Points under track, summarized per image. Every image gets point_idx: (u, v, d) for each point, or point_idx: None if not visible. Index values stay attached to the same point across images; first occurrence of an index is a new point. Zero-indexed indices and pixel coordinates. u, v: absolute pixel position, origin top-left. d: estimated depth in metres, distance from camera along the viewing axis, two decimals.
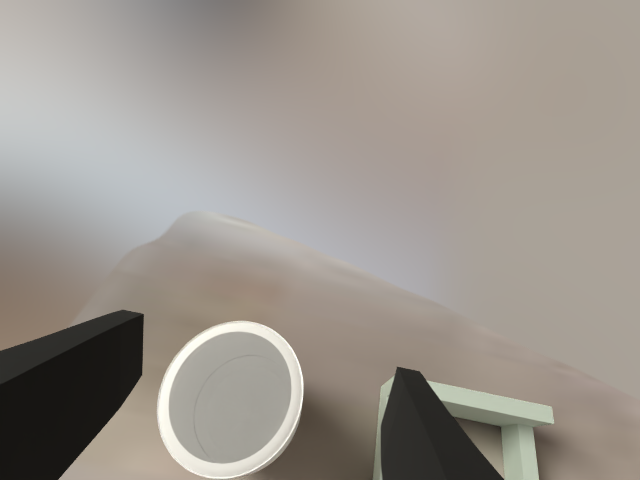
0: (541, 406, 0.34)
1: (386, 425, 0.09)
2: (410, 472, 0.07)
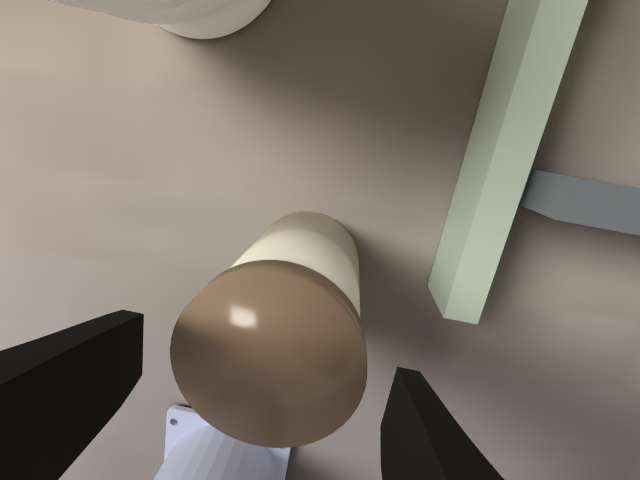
0: None
1: (386, 425, 0.09)
2: (410, 472, 0.07)
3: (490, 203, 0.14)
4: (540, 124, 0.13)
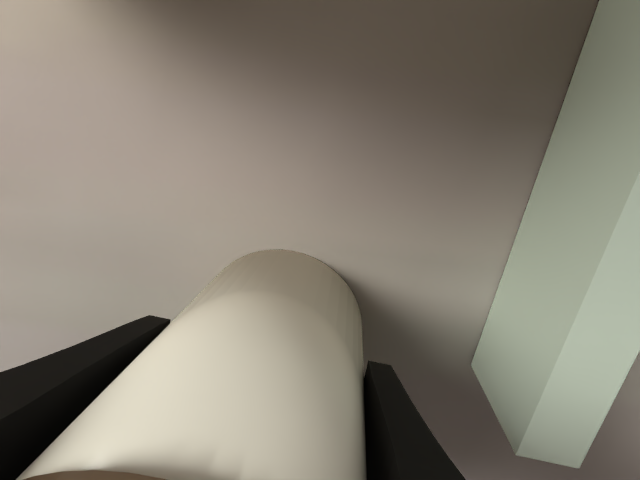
0: None
1: None
2: (372, 464, 0.07)
3: (627, 258, 0.07)
4: None
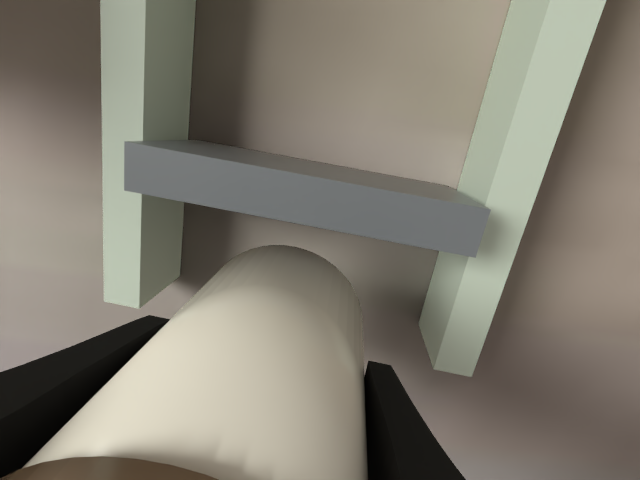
0: None
1: None
2: (372, 464, 0.07)
3: (114, 176, 0.13)
4: (139, 88, 0.12)
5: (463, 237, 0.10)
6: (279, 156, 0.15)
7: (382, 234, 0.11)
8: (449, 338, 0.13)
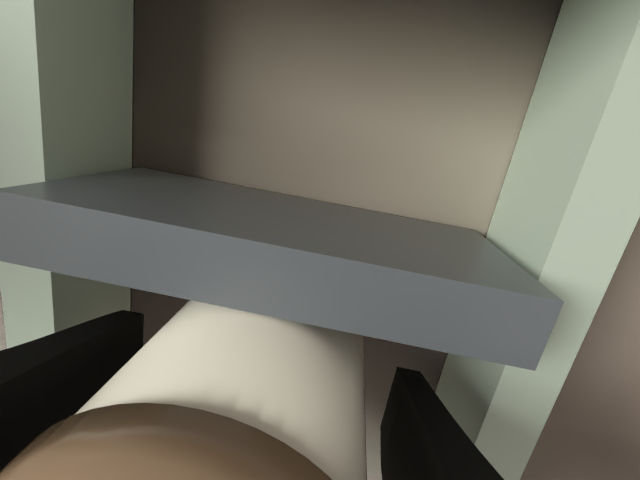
0: None
1: (386, 425, 0.09)
2: (410, 472, 0.07)
3: None
4: (46, 285, 0.10)
5: (517, 341, 0.07)
6: (249, 191, 0.11)
7: (390, 333, 0.07)
8: None
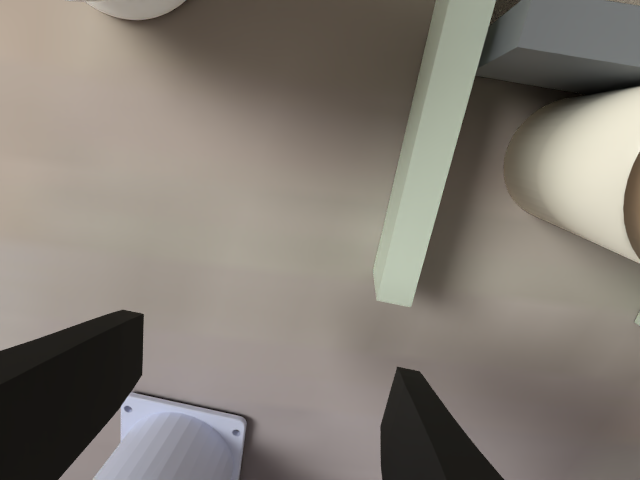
0: None
1: (386, 425, 0.09)
2: (410, 472, 0.07)
3: (417, 183, 0.14)
4: (462, 102, 0.13)
5: None
6: None
7: None
8: None
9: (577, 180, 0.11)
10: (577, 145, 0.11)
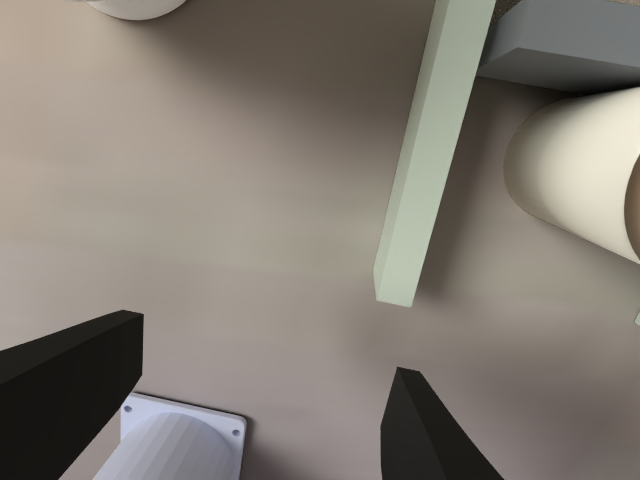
0: None
1: (386, 425, 0.09)
2: (410, 472, 0.07)
3: (417, 183, 0.14)
4: (462, 102, 0.13)
5: None
6: None
7: None
8: None
9: (578, 181, 0.11)
10: (578, 146, 0.11)
